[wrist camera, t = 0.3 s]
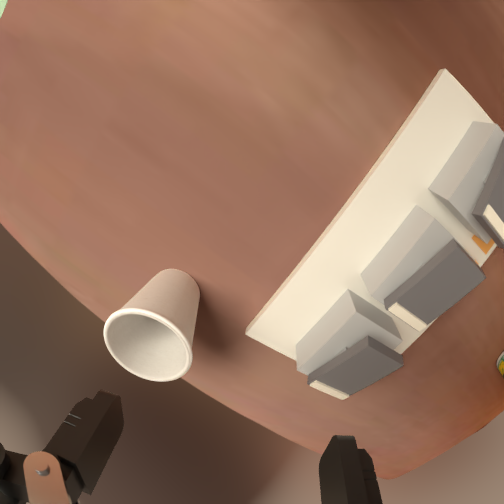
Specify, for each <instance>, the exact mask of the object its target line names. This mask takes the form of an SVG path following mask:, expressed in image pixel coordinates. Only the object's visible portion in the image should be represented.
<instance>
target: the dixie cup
mask: <svg viewBox="0 0 504 504" xmlns="http://www.w3.org/2000/svg"><path fill="white" fill-rule="evenodd" d="M199 299H200V290H199V287H198V285H197V283H196V282H195V280H194V279H193V278H192V277H191V276H190V275H189V274H187V273H186V272H184V271H181V270H178V269H165V270H163V271H161V272H159V273H158V274H157V275H156V276H155V277H153V278H152V279H151V280H150V281H149V282H148V283H147V284H146V285H145V286H144V287H143V288H142V289H141V290H140V291H139V292H138V293H137V294H136V295H135V296H134V297H133V298H132V299H130V300H129V301H128V302H127V303H126V304H125V305H124V306H123V307H122V308H121V309H120V310H118V311H116V312H115V313H113V314H112V315H111V316H110V317H109V318H108V319H107V321H106V323H105V326H104V339H105V343H106V345H107V348H108V350H109V351H110V353H111V355H112V356H113V357H114V358H115V360H116V361H117V362H118V363H119V364H120V365H121V366H123V367H124V368H125V369H126V370H128V371H129V372H131V373H133V374H135V375H137V376H139V377H141V378H144V379H148V380H152V381H171V380H175V379H178V378H180V377H182V376H183V375H184V374H185V373H186V372H187V371H188V370H189V368H190V367H191V364H192V358H193V355H192V343H193V336H194V330H195V323H196V317H197V311H198V305H199Z"/></svg>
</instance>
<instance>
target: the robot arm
mask: <svg viewBox="0 0 504 504" xmlns="http://www.w3.org/2000/svg"><path fill="white" fill-rule="evenodd" d="M123 426H124V418H123V412H122V404H121V398H120V396H119V395H116V394H113V393H110V392H108V391H105V390H100V391H99V392H98V393H97V395H96V396H95V398H94V399H93V400H92V399H89V398H85V399H83V400H82V401H80V402H79V403H77V404H76V405H75V406H74V408H73V409H72V411H71V412H70V414H69V415H68V416H67V417H66V419H65V420H64V423H62V424H61V426H60V427H59V429H58V430H57V432H56V433H55V435H54V436H53V437H52V439H51V440H50V442H49V443H48V445H47V446H46V448H45V449H44V450H43V451H37V452H33V453H31V454H30V455H23V454H19V453H15V452H11V451H7V450H5V449H4V447H3V445H2V444H1V443H0V504H26V502H29V503H30V504H80V502H79V499H78V498H79V496H80V494H81V492H82V491H83V492H85V493H88V494H90V495H91V494H92V492H93V490H94V487H95V486H96V484H97V481H98V479H99V477H100V475H101V473H102V471H103V469H104V467H105V465H106V463H107V461H108V459H109V457H110V455H111V453H112V451H113V449H114V447H115V445H116V443H117V441H118V440H119V438H120V436H121V433H122V430H123ZM374 470H375V469H374V465H373V461H372V458H371V457H370V456H369V454H368V453H367V452H366V450H365V449H357V444H356V440H355V437H354V436H340V435H334V436H333V437H332V439H331V440H330V442H329V444H328V446H327V448H326V450H325V451H324V453H323V455H322V457H321V459H320V463H319V477H320V489H321V501H322V504H382V499H381V495H380V490H379V486H378V482H377V481H376V474H375V472H374Z"/></svg>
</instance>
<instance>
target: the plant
mask: <svg viewBox="0 0 504 504" xmlns="http://www.w3.org/2000/svg"><path fill="white" fill-rule="evenodd" d="M7 1H8V0H0V18H1V16H2V14H3V11H4V9H5V6H6V4H7Z"/></svg>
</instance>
